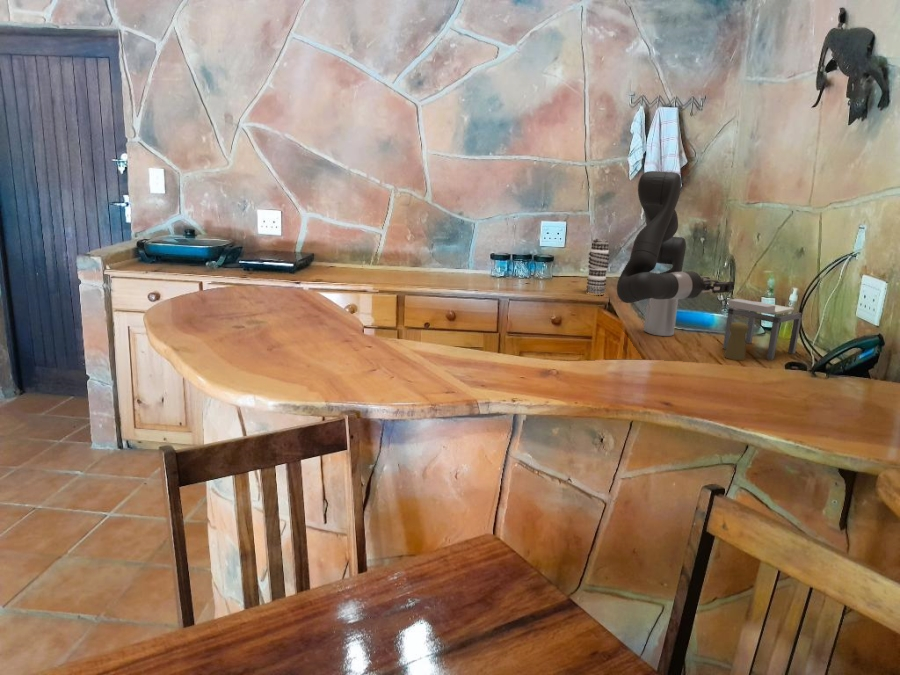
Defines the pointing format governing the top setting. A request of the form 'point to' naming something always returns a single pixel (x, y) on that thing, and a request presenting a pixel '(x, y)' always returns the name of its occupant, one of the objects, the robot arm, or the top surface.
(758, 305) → the trapdoor
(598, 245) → the striped stacked cylinder
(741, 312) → the grey miniature table
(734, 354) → the cork
